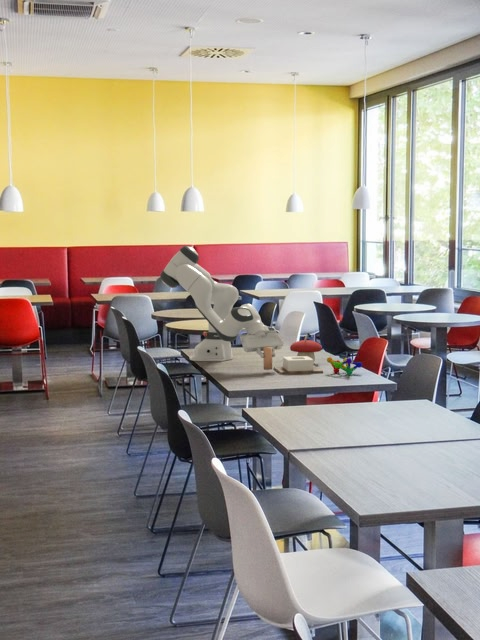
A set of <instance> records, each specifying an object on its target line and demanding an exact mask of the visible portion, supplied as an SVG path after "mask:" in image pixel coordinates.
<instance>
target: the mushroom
mask: <svg viewBox="0 0 480 640" xmlns="http://www.w3.org/2000/svg"><path fill="white" fill-rule="evenodd" d="M308 337H309V338H311V337H312V334H310V333H309V332H307V333H306V335H305V337H304V340H297V341H295V342H293V343H292V344H290V347H289V349H290V351H291V352H295V353H297V356H308V357H310V358H312V359H313V360H314V362H315V360H316V357H315V353H318V352H322V349H323V347H322V345H321V344H320V343H319V342H317V341H313V340H310V339H309V340H307V339H308Z"/></svg>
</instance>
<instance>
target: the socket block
mask: <svg viewBox="0 0 480 640" xmlns="http://www.w3.org/2000/svg"><path fill="white" fill-rule="evenodd" d="M314 363H315V361H314V360H313V359H312V358H310V357H308V356H282V367H283V368H285V369H286V370H287V371H311V370H314V366H315V364H314Z"/></svg>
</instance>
